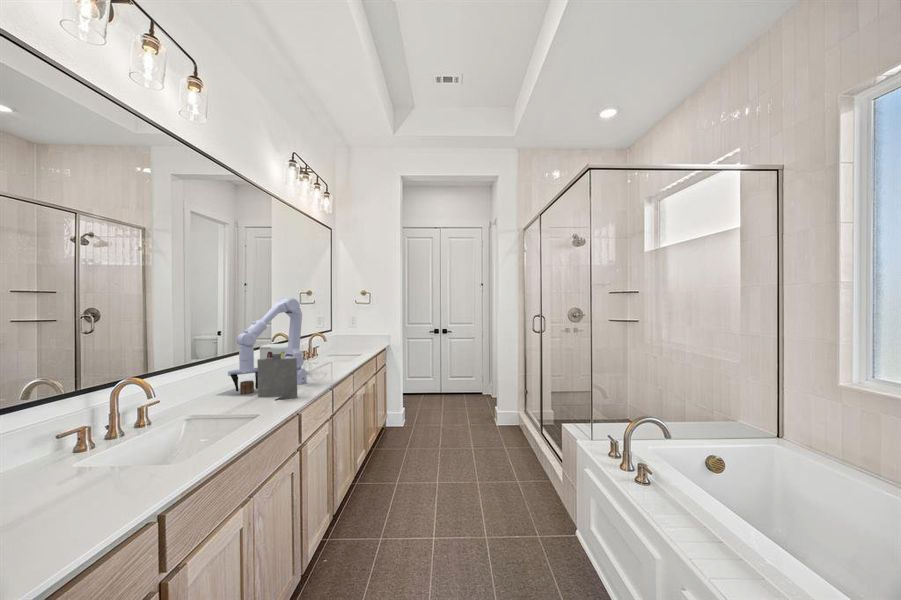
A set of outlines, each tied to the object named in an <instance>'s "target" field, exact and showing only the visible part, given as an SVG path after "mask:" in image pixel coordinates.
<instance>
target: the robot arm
mask: <svg viewBox="0 0 901 600" xmlns="http://www.w3.org/2000/svg"><path fill="white" fill-rule="evenodd" d="M300 306H301V303H300V302H299V300H297V299H296V298H294V297H290V298H284V297H283V298H279V299H278V300H277V301H276V302H275V303H274V304H273V305H272V307H270V309H268V311H267V312H266V313H265V314H264V315H263V316H262V317H261V319H257V320H254V321H252V322H251V325H250V326H249V327H247V329H245V330H244V332H242V333H239V335H238V336H237V337H236V340H235V341H236V344H238V352H239V353H238V354H239V355H238V359H239V361H238V362H239V365H238V368H239V369H233V370H227V376H228V377H230V378H231V380H232V381H233V384H234V386H235V387H234V388H235V389H236V391H237V392H238V389H239V376H238V375H247V374H254V376H255V382H254V389H258V367H255V357H254V356H255V355H254V349H255V348H254V344H256V342H257V338H259V336H261V335H262V334H263V332H265V330H266V329H267V325H268V324H269V323H270V322H271V321H272V320H273V319H274V318H276V316H278V315H279V314H282V313H284V314H286V315H287V316H288V317H289V327H288V329H289V330H288V340H287V344H288V349H287V350H286V351H285V355H284V357H283V358H297V386H301V385H304V384H305V385H306V384H308V383H307V382H308V381H307V377H308V376H307V375H308V373H307V370H306V369H305V368H302V367H303V365H304V364H305V363H304V362H305V361H304V357H303V352H302V351H301V349H300V347H301V334H302V333H301V332H302V323H303V311H302V310H301V307H300Z"/></svg>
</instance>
